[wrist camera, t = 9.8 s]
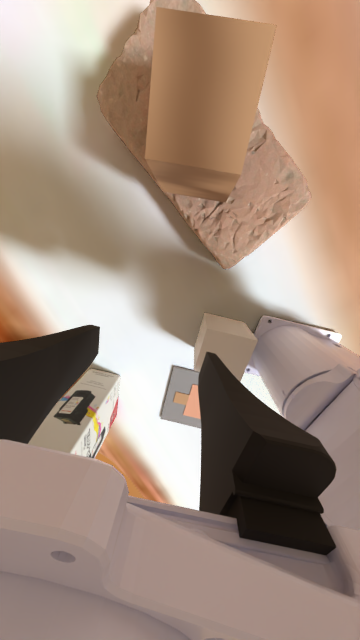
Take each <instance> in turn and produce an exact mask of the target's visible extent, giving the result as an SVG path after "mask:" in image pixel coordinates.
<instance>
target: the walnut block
mask: <svg viewBox="0 0 360 640" xmlns="http://www.w3.org/2000/svg"><path fill="white" fill-rule="evenodd" d="M276 27H277V25H274V24H267V23H260V22H254V21H247V20H240V19H234V18H227V17H221V16H214V15H207V14H201V13H194V12H188V11H181V10H174V9H168V8H161V7H156V19H155V32H154V45H153V59H152V72H151V85H150V98H149V111H148V124H147V137H146V150H145V160H146V161H147V163H148V165H149V167H150V169H151V171H152V173H153V175H154V177H155V178H156V180H157V182H158V184H159V186H160V188H161V190H162V192H167V193H173V194H179V195H185V196H190V197H196V198H202V199H208V200H213V201H219V202H225V203H226V201H227V199H228V197H229V195H230V194H231V192H232V190H233V188H234V187H235V185H236V183H237V181H238V179H239V178H240V176H241V173H242V169H243V164H244V160H245V156H246V152H247V148H248V144H249V139H250V135H251V131H252V127H253V123H254V119H255V114H256V110H257V106H258V102H259V98H260V94H261V90H262V85H263V81H264V77H265V73H266V69H267V65H268V60H269V56H270V52H271V48H272V44H273V40H274V35H275V31H276Z"/></svg>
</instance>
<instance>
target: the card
mask: <svg viewBox="0 0 360 640" xmlns="http://www.w3.org/2000/svg"><path fill="white" fill-rule="evenodd" d="M199 373H200V372H198V371H193V370H189V369H185V368H181V367H177V366H174V368H173V372H172V375H171V379H170V383H169V387H168V391H167V395H166V399H165V403H164V407H163V411H162V415H161V419H164V420H168V421H172V422H177V423H181V424H185V425H189V426H193V427H197V428H201V417H200V406H199V396H198V376H199Z"/></svg>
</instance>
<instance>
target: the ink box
mask: <svg viewBox="0 0 360 640" xmlns="http://www.w3.org/2000/svg"><path fill="white" fill-rule="evenodd" d="M119 385H120V375H116V374H113V373H109V372H105V371H101V370H96V369H89V370H88V371H87V372H86V373H85V374H84V375H83V376H82V377H81V378H80V380H79V381H78V382H77V383H76V384H75V385H74V386H73V387H72V388H71V389H70V390H69V391H68V392H67V393H66V394H65V395H64V396H63V397H62V398H61V399H60V400H59V402H58V403H57V404H56V405H55V406H54V407H53V409H52V410H51V411H50V413H49V414H48V416H47V417H46V418H45V420H44V421H43V423H42V424H41V425H40V427H39V428H38V430H37V431H36V432H35V434H34V435H33V437H32V438H31V440H30V441H29V443H28V444H29V445H34V446H38V447H43V448H48V449H52V450H57V451H62V452H66V453H71V454H76V455H80V456H85V457H90V458H95V457H96V455H97V453H98V451H99V449H100V447H101V445H102V443H103V441H104V439H105V437H106V435H107V433H108V431H109V429H110V427H111V425H112V423H113V421H114V419H115V417H116V415H117V405H118V395H119Z"/></svg>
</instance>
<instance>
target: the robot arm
mask: <svg viewBox="0 0 360 640" xmlns="http://www.w3.org/2000/svg"><path fill="white" fill-rule="evenodd" d="M269 319H271V321H270V322H268V320H269ZM99 331H100V327H98V326H94V325H86V326H82V327H78V328H74V329H70V330H66V331H62V332H59V333H54V334H50V335H46V336H41V337H37V338H31V339H26V340H19V341H13V342H4V343H0V640H360V356H359V355H357V354H355V353H354V352H352V351H351V350H349V349H347V348H346V347H344V346H342V345H341V344H339V343H338V342H339V341H340V339H341V337H342V336H341V334H339V333H337V332H333V331H329V330H324V329H320V328H316V327H312V326H308V325H304V324H300V323H295V322H291V321H287V320H283V319H279V318H275V317H271V316H267V315H264V316H262V317H261V318H260V321H259V323H258V326H257V328H256V330H255V333H254V336H255V337H256V338H257V340H258V342H257V344H256V346H255V349H254V351H253V353H252V356H251V358H250V360H249V362H248V365H247V367H246V369H248V368H249V370H246V369H245V373H249V374H253V375H258V376H261V378H262V380H263V382H264V384H265V386H266V387H267V389H268V391H269V393H270V395H271V397H272V399H273V401H274V402H275V404H276V406H277V408H278V410H279V412H280V414H281V415H282V416H280V415H279V414H278V413H276V412H275V411H273V410H272V409H271V408H269V407H268V406H267V405H265V404H264V403H263V402H262V401H260V400H259V399H258V398H257V397H255V396H254V395H253V394H252V393H251V392H250V391H249V390H248V389H247V388H245V387H244V386H243V385H242V384H241V383H240V381H239V380H238V379H237V378H236V377H235V376H234V375H233V374H232V373H231V372H230V370H229V369H228V368H227V367H226V366H225V364H224V363H223V362H222V361H221V359H220V358H219V357H218V356H217V355H216V354H215V353H211V352H207V351H206V355H205V358H204V361H203V364H202V367H201V370H200V373H199V376H198V396H199V406H200V417H201V484H200V507H199V511H198V510H194V509H189V508H184V507H179V506H175V505H170V504H165V503H160V502H155V501H151V500H146V499H141V498H136V497H132V496H128V493H129V491H128V487H127V483H126V480H125V478H124V476H123V475H122V474H121V473H120V472H119V471H118V470H117V469H116V468H114V467H113V466H112V465H110V464H107V463H105V462H102V461H100V460H97V459H95V458H90V457H85V456H80V455H76V454H71V453H66V452H62V451H57V450H52V449H48V448H43V447H38V446H34V445H29V444H28V443H29V441H30V440H31V438H32V437H33V435H34V434H35V432H36V431H37V430H38V428H39V427H40V425H41V424H42V423H43V421H44V420H45V418H46V417H47V416H48V414H49V413H50V411H51V410H52V409H53V407H54V406H55V405H56V403H57V402H58V401H59V399H60V398H61V397H62V396H63V395H64V393H65V392H66V391H67V390H68V389H69V388H70V387H71V386H72V385H73V384H74V382H75V381H76V380H77V379H78V378H79V377H80V376H81V375H82V374H83V373H84V372H85V370H86V369H87V368H88V367H89V366H90V365H91V363H92V362H93V360H94V359H95V357H96V356H97V354H98V348H99ZM327 334H329V335H328V336H326V335H327Z"/></svg>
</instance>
